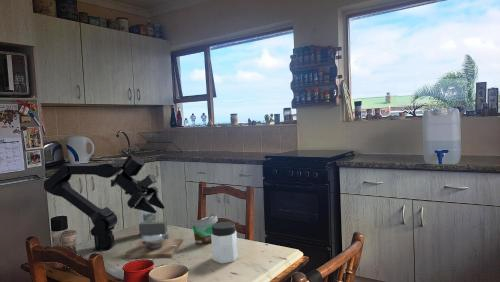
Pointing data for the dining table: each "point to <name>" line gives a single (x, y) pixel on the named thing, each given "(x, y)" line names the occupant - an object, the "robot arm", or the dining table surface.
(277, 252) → the dining table surface
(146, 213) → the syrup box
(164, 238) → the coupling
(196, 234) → the food container
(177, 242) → the brown flat slab
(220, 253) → the jar
